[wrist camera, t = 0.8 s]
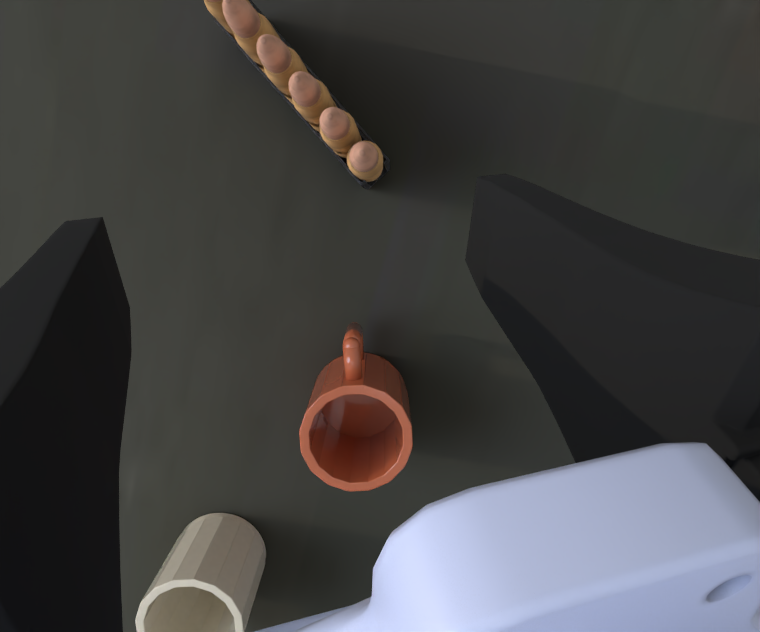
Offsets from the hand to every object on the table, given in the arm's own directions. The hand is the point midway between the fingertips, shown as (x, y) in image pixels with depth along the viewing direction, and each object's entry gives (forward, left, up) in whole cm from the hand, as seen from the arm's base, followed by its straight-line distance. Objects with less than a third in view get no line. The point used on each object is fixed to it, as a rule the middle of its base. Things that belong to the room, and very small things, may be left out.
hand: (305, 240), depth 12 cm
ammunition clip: (+6, +2, -23) cm, 24 cm away
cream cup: (-22, +10, -23) cm, 34 cm away
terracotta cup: (-10, 0, -23) cm, 25 cm away
